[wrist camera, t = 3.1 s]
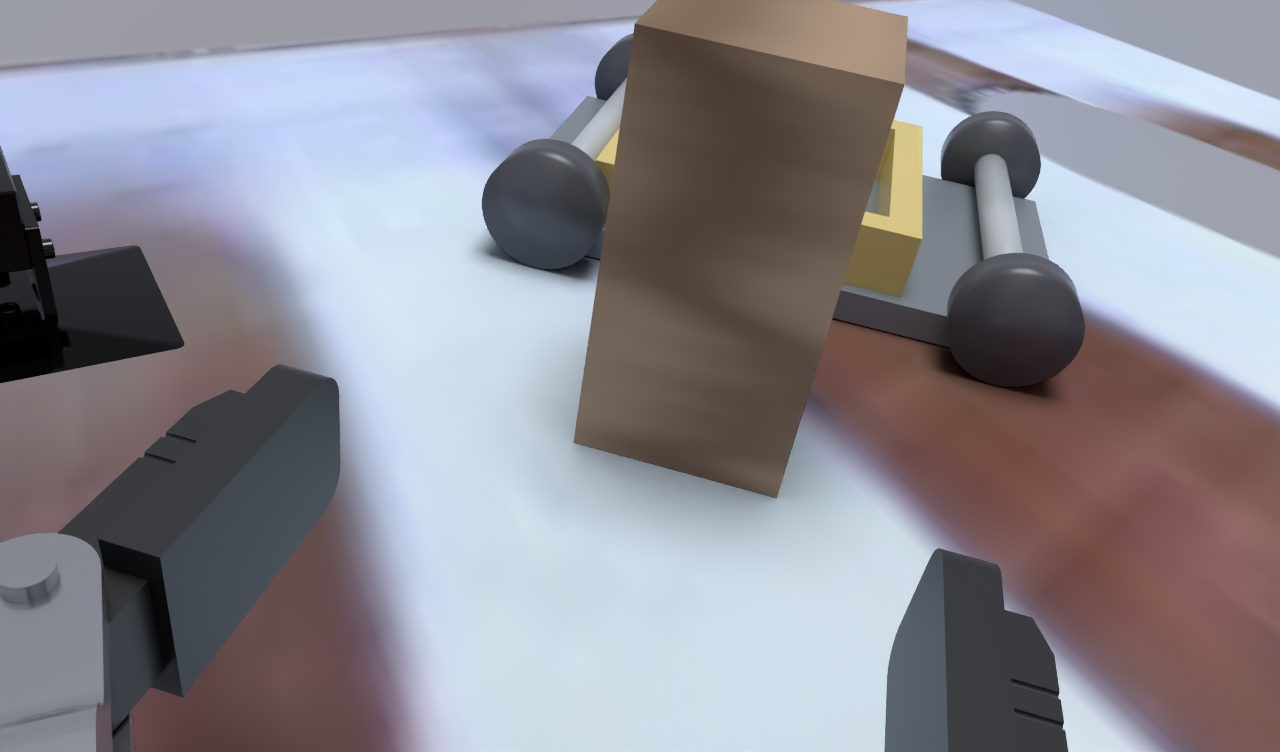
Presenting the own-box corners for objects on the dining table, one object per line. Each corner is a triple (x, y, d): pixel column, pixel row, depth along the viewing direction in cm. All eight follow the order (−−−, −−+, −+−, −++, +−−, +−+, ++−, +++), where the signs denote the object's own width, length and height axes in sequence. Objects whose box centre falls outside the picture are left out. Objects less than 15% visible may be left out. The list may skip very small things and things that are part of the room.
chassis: (1022, 209, 40) (1056, 124, 38) (1061, 402, 29) (1114, 295, 27) (594, 108, 42) (605, 22, 40) (472, 251, 31) (479, 141, 29)
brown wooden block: (797, 383, 28) (907, 16, 22) (776, 497, 24) (904, 84, 18) (624, 338, 28) (687, -32, 22) (573, 442, 24) (635, 23, 18)
